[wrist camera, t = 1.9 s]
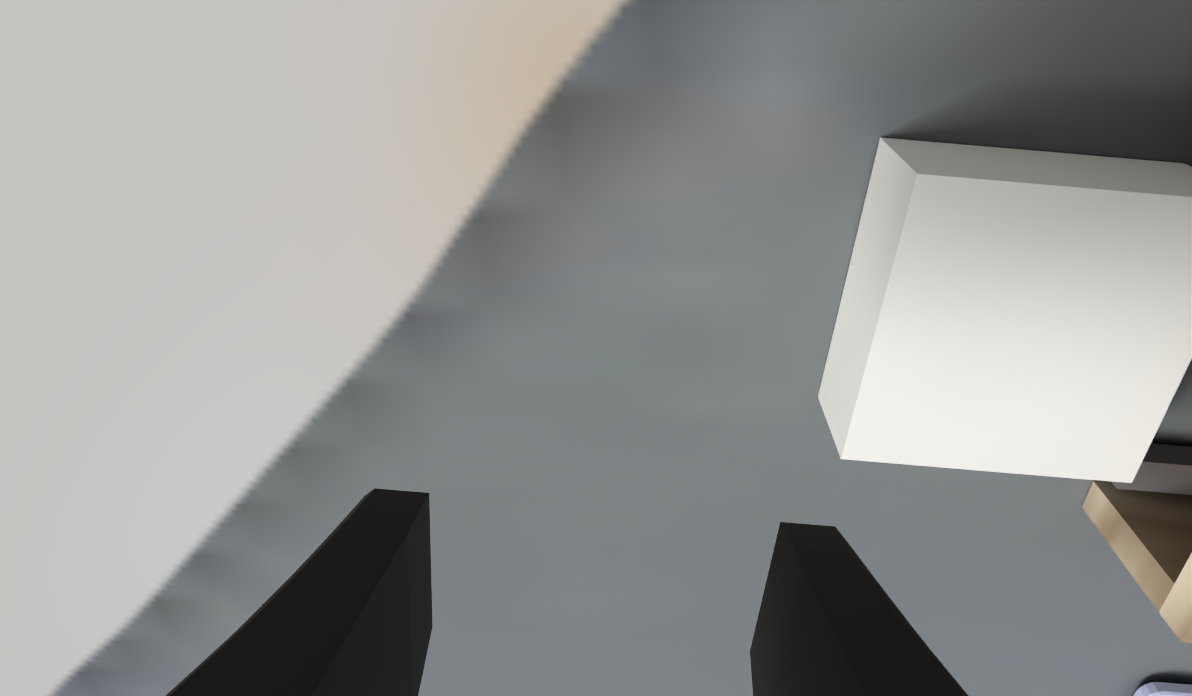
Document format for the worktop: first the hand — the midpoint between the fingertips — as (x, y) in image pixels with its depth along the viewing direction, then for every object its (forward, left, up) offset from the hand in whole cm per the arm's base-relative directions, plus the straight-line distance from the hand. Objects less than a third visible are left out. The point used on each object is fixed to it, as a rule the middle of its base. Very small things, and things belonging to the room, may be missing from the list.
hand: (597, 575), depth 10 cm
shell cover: (0, -8, -9) cm, 12 cm away
